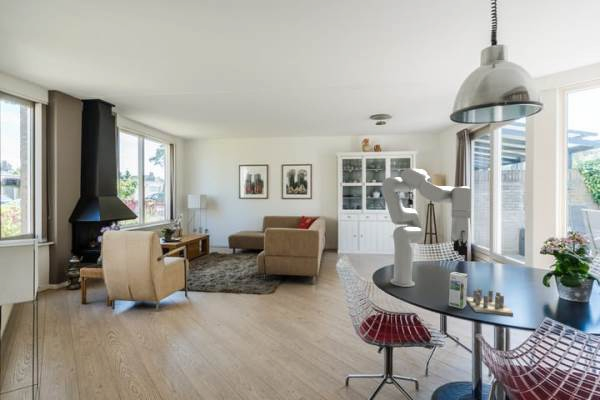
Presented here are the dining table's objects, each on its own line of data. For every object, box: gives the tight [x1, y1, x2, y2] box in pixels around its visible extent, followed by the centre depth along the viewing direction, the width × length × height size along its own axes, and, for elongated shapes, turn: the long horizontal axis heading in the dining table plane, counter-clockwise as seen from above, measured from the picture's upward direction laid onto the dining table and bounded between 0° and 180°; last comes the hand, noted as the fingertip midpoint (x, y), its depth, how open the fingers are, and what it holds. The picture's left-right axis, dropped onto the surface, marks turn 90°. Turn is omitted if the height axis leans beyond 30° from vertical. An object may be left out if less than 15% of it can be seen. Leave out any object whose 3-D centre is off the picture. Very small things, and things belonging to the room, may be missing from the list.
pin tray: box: [466, 288, 514, 317], centre depth 134 cm, size 16×14×6 cm
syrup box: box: [448, 271, 468, 310], centre depth 135 cm, size 6×6×14 cm
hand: (459, 253), depth 134 cm, fingers open, 9 cm apart
